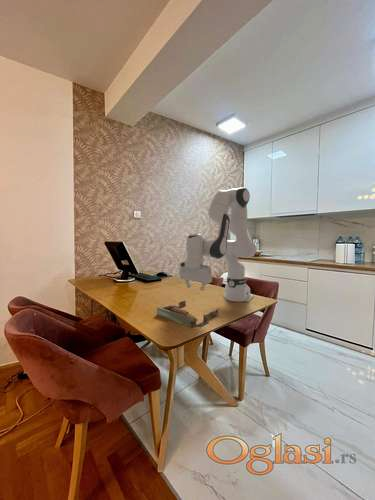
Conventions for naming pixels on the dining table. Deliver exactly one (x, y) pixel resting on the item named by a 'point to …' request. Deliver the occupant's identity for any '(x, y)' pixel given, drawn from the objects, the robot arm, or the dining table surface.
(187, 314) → the brown oblong lump
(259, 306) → the dining table surface
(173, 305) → the mats
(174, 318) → the trap lane
